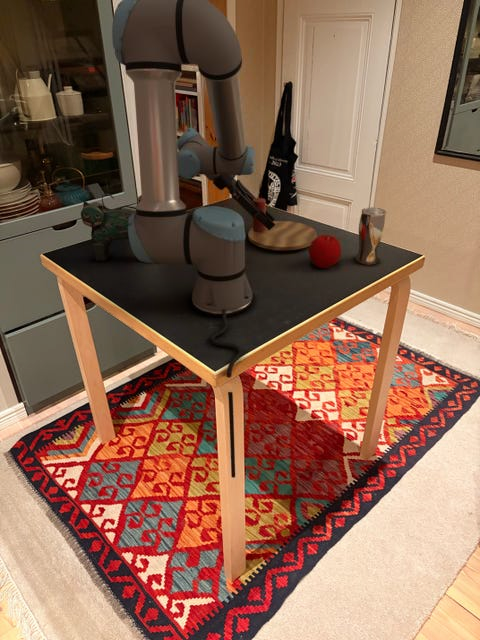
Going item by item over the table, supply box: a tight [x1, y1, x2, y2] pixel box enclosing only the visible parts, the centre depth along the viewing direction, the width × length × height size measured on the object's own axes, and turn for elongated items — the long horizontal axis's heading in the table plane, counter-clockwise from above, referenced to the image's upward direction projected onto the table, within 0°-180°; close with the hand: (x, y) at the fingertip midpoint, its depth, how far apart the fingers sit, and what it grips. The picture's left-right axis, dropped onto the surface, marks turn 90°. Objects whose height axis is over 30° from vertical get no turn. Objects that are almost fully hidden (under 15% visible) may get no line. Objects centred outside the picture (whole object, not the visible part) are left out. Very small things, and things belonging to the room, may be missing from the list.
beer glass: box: [355, 206, 387, 266], centre depth 133 cm, size 7×7×15 cm
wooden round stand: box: [247, 197, 318, 251], centre depth 147 cm, size 22×22×11 cm
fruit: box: [308, 231, 342, 269], centre depth 132 cm, size 9×9×10 cm
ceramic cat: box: [80, 193, 136, 262], centre depth 135 cm, size 20×6×20 cm, turn 83°
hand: (271, 224), depth 151 cm, fingers closed on wooden round stand, 4 cm apart
